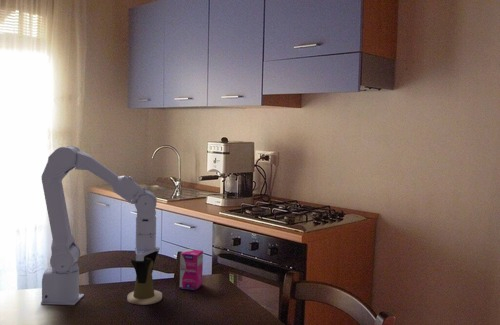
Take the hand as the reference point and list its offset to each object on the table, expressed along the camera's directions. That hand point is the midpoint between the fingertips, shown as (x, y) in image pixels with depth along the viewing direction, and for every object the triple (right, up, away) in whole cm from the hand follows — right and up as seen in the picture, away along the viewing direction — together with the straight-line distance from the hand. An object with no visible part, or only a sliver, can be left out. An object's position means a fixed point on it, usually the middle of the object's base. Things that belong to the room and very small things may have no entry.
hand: (145, 278), depth 137 cm
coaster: (0, -6, 0) cm, 6 cm away
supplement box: (+12, -6, +12) cm, 18 cm away
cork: (0, -5, 0) cm, 5 cm away
